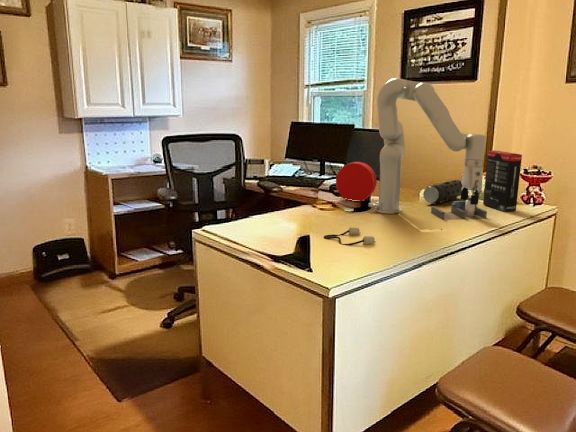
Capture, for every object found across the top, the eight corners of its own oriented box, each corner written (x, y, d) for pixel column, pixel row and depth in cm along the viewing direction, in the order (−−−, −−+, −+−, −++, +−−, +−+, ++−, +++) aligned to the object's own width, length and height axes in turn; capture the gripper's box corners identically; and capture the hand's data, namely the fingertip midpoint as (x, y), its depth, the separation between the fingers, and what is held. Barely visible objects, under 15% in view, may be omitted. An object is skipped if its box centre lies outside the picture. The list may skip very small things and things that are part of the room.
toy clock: (375, 201, 246) (377, 162, 241) (372, 203, 241) (374, 164, 236) (338, 198, 254) (339, 160, 249) (335, 200, 249) (336, 162, 244)
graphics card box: (517, 211, 223) (523, 153, 216) (504, 212, 221) (510, 153, 215) (493, 204, 239) (499, 149, 233) (481, 205, 237) (486, 150, 231)
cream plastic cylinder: (466, 217, 208) (468, 199, 206) (462, 214, 212) (464, 197, 210) (475, 216, 209) (477, 198, 207) (471, 214, 212) (473, 197, 211)
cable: (337, 249, 167) (338, 240, 166) (320, 237, 182) (321, 228, 181) (377, 245, 172) (378, 236, 171) (358, 234, 187) (358, 225, 186)
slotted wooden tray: (442, 221, 204) (443, 208, 202) (429, 214, 217) (430, 201, 216) (487, 221, 205) (488, 207, 204) (472, 213, 219) (473, 200, 218)
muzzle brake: (464, 199, 252) (466, 180, 249) (438, 207, 232) (440, 186, 230) (447, 197, 258) (449, 178, 256) (421, 204, 239) (422, 184, 237)
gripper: (491, 166, 197) (486, 206, 201) (472, 160, 214) (468, 198, 218) (474, 165, 196) (469, 206, 201) (456, 160, 213) (452, 197, 217)
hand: (468, 202), depth 209 cm, fingers open, 9 cm apart
